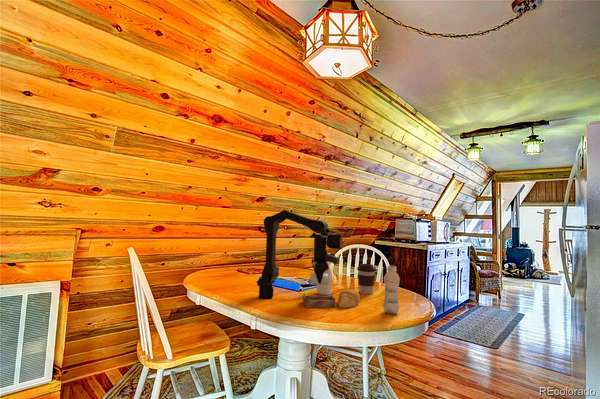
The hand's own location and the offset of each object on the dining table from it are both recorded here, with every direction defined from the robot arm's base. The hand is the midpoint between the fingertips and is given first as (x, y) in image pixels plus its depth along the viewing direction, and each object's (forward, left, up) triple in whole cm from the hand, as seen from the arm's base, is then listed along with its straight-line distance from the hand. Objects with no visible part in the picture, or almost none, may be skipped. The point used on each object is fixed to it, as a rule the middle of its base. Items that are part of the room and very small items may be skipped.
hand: (319, 282), depth 148 cm
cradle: (0, 0, -10) cm, 10 cm away
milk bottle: (+5, +21, -10) cm, 24 cm away
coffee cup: (+28, +24, -10) cm, 38 cm away
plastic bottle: (+30, -11, -10) cm, 34 cm away
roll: (0, 0, -1) cm, 1 cm away
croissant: (+14, +3, -11) cm, 18 cm away
